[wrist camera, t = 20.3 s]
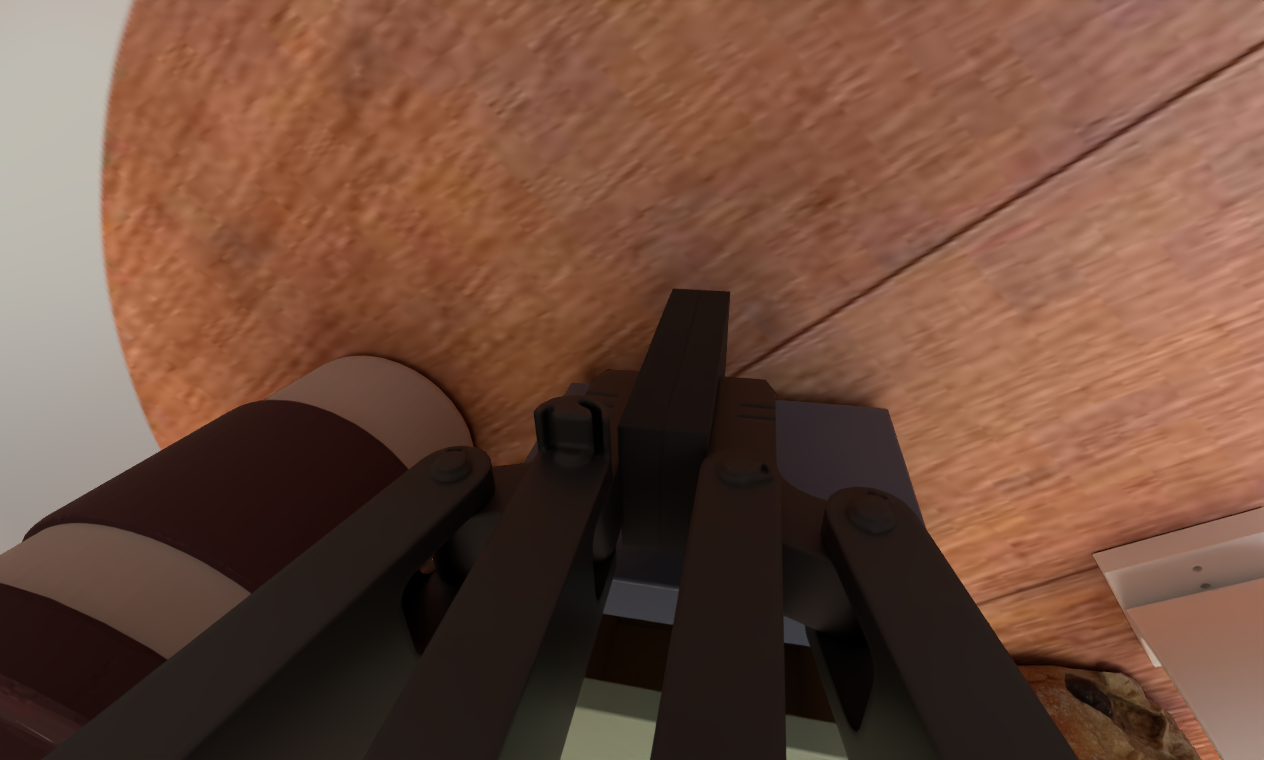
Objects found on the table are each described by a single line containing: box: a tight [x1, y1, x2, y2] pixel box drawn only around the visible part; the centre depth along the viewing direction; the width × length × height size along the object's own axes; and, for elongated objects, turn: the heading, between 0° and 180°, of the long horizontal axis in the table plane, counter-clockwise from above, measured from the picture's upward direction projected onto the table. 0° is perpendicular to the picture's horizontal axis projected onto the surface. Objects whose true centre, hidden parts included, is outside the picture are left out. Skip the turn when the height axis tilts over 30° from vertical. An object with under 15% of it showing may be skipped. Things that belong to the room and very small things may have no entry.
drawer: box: [524, 383, 926, 723], centre depth 17 cm, size 12×10×8 cm
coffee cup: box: [0, 356, 473, 760], centre depth 17 cm, size 10×10×15 cm
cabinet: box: [560, 677, 848, 760], centre depth 20 cm, size 12×11×10 cm
